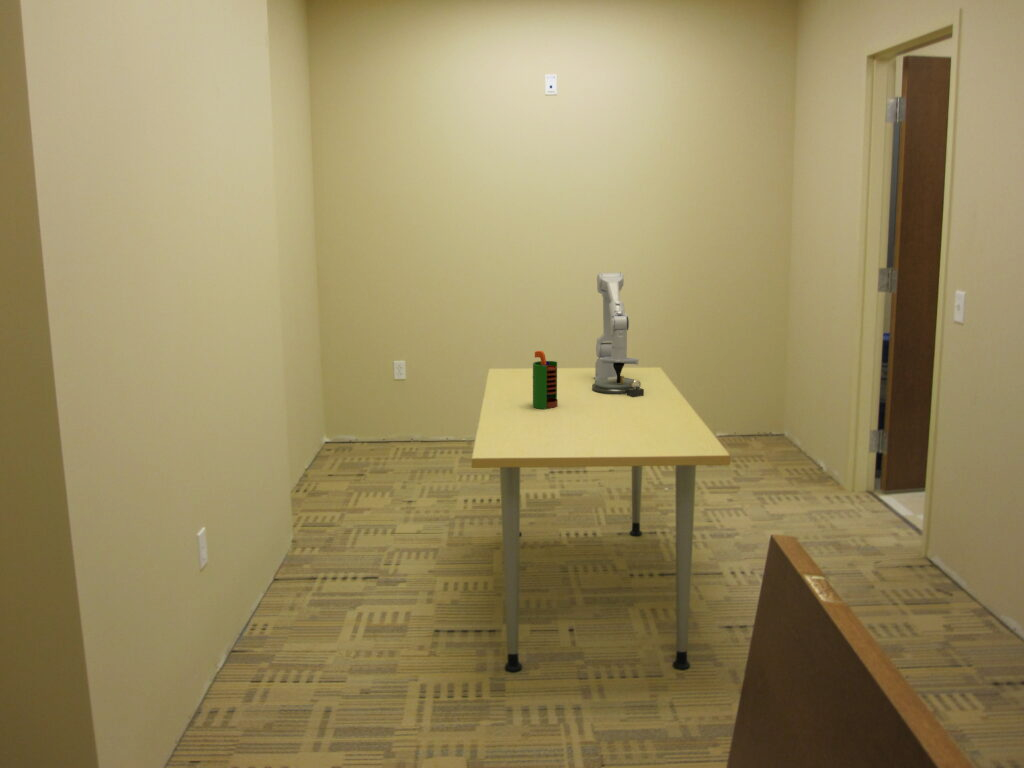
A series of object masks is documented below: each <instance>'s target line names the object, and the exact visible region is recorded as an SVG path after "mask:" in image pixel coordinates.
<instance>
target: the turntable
mask: <svg viewBox="0 0 1024 768" xmlns="http://www.w3.org/2000/svg"><path fill="white" fill-rule="evenodd" d="M634 380H635V379H633V378H630V377H625V376H624V375H620V383H617V377H606V378H600V379H594V383H595V386H596V387H598V388H603V389H628V388H632V386H631V385H630V383H631V384H632V382H633V381H634Z"/></svg>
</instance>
